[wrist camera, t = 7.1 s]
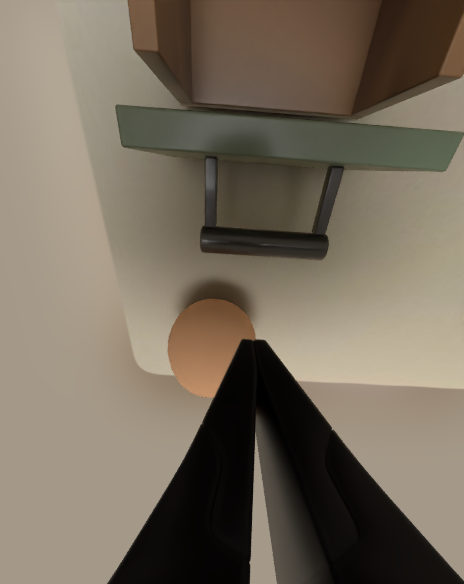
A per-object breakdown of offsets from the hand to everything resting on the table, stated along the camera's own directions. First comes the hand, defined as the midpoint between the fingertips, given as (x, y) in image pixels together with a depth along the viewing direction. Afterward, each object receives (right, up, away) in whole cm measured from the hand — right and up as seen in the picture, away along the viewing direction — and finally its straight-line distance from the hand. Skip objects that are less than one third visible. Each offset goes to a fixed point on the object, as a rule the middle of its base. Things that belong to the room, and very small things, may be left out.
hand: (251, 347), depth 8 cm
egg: (-2, 0, +14) cm, 14 cm away
